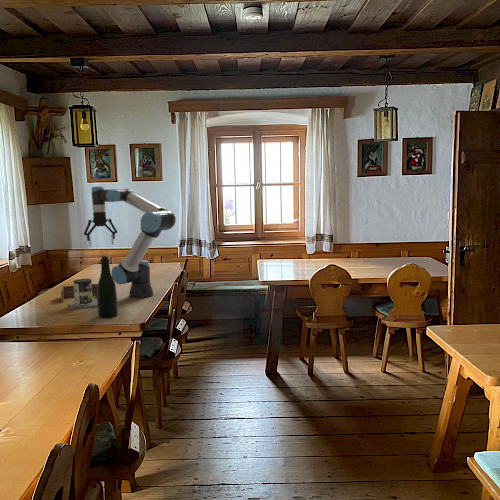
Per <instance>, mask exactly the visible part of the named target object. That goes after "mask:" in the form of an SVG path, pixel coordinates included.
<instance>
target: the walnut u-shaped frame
mask: <svg viewBox="0 0 500 500" xmlns="http://www.w3.org/2000/svg"><path fill="white" fill-rule="evenodd" d="M91 284H92V296H94V295H95V296H97V286H98V283H91ZM60 292H61V293H60V295H61V303H64V301H65V298H74V285H67V286H66V285H64V286H61V290H60Z"/></svg>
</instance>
